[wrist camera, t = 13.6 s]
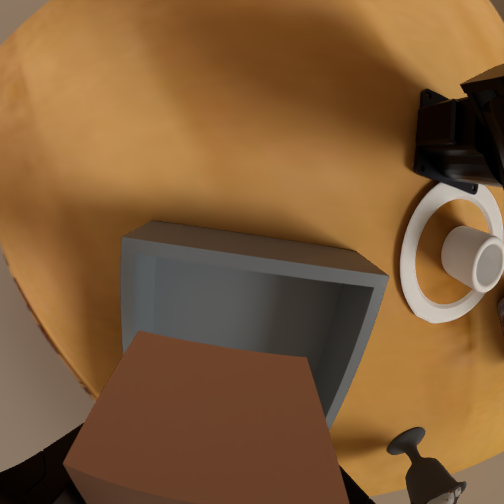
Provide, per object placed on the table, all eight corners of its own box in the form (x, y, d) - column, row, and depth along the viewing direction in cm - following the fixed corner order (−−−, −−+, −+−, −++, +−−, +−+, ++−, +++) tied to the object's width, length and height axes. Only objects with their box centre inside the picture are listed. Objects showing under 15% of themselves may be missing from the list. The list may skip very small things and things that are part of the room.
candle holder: (409, 342, 21) (434, 370, 17) (375, 209, 18) (408, 219, 14) (501, 279, 20) (530, 295, 16) (484, 157, 17) (520, 159, 13)
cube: (306, 357, 8) (349, 503, 3) (270, 452, 10) (279, 561, 5) (139, 330, 8) (62, 463, 3) (143, 433, 9) (111, 537, 4)
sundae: (390, 429, 24) (441, 538, 9) (438, 416, 24) (496, 506, 10) (373, 462, 26) (409, 559, 11) (419, 450, 26) (461, 534, 11)
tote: (356, 251, 19) (389, 276, 14) (297, 432, 23) (305, 473, 18) (151, 220, 18) (121, 236, 13) (150, 415, 22) (137, 455, 17)
